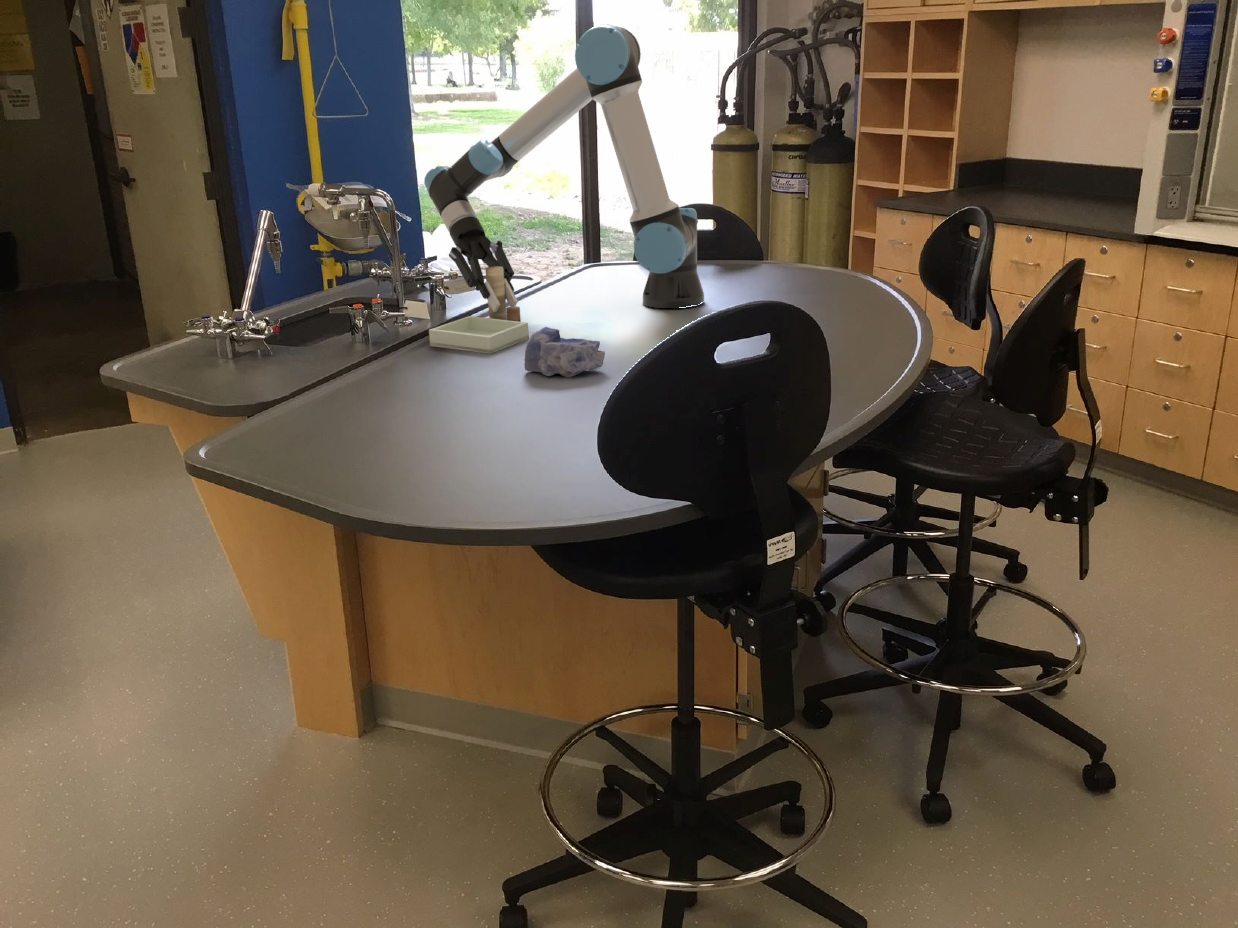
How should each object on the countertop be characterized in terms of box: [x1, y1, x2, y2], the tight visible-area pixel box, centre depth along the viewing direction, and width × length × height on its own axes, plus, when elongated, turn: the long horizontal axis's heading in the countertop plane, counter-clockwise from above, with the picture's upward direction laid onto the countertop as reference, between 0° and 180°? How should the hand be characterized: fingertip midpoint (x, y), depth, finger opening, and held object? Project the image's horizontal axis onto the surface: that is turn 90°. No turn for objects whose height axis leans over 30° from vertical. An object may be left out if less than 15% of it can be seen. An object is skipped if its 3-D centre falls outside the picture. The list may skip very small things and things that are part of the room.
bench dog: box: [506, 305, 522, 322], centre depth 227 cm, size 3×3×5 cm
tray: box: [428, 315, 530, 355], centre depth 218 cm, size 16×14×4 cm
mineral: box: [523, 326, 606, 378], centre depth 193 cm, size 14×10×10 cm
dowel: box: [485, 266, 507, 320], centre depth 231 cm, size 4×4×12 cm
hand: (505, 306), depth 229 cm, fingers closed on dowel, 4 cm apart
